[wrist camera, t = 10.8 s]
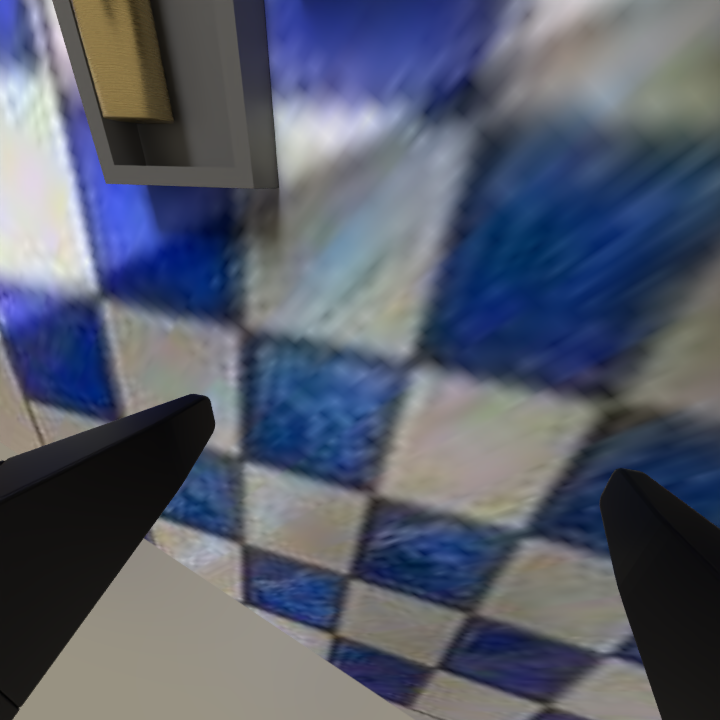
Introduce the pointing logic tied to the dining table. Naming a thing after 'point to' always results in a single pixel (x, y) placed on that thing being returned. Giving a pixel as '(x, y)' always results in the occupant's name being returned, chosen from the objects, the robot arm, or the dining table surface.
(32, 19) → the dining table surface
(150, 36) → the pin
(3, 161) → the dining table surface
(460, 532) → the dining table surface
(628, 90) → the dining table surface
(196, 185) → the tray
